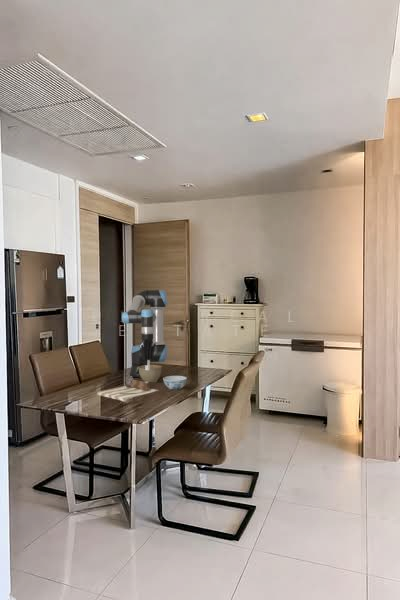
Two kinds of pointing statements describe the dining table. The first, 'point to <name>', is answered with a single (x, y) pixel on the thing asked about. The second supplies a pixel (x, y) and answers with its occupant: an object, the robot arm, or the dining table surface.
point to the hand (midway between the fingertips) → (147, 370)
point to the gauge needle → (136, 383)
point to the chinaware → (174, 382)
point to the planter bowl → (150, 373)
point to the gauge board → (124, 393)
